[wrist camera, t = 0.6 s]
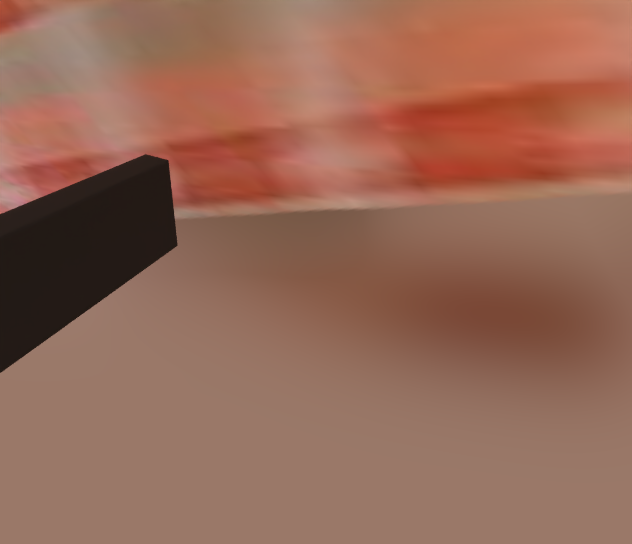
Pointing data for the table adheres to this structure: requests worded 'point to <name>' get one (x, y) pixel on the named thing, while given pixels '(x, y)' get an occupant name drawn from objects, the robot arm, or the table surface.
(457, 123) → the table surface
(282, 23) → the table surface
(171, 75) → the table surface
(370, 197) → the table surface
